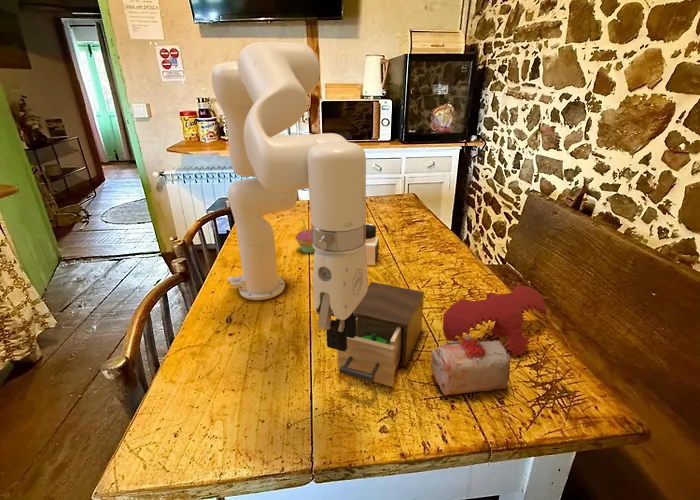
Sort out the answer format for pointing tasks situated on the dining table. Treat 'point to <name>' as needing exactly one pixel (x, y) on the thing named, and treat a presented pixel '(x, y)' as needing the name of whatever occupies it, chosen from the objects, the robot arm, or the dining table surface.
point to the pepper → (374, 338)
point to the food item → (470, 366)
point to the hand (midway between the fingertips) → (341, 340)
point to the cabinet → (395, 312)
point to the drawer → (372, 352)
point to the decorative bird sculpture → (495, 316)
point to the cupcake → (305, 239)
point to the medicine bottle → (371, 245)
